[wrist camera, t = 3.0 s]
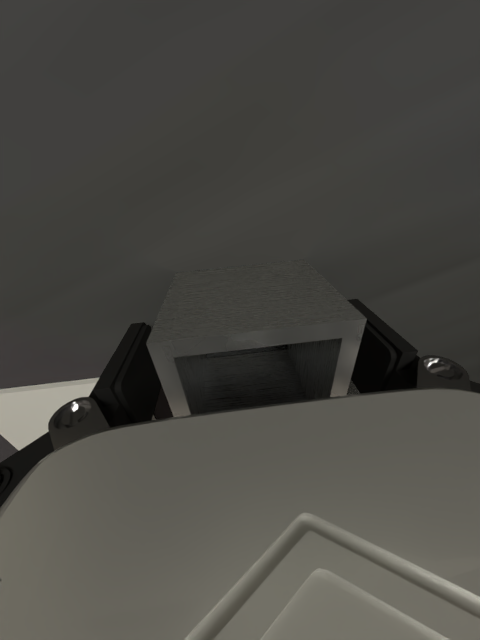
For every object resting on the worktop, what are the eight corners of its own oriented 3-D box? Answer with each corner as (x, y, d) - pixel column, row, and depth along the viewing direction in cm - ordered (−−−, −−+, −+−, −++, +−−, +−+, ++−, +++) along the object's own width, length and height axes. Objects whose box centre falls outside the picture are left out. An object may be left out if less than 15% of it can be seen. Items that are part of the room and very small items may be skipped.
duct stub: (134, 373, 14) (83, 496, 9) (172, 457, 19) (155, 565, 14) (-34, 393, 14) (-198, 535, 8) (52, 472, 19) (-13, 590, 14)
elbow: (176, 272, 11) (145, 343, 6) (303, 259, 11) (366, 318, 6) (211, 421, 17) (209, 511, 12) (291, 410, 17) (319, 495, 13)
